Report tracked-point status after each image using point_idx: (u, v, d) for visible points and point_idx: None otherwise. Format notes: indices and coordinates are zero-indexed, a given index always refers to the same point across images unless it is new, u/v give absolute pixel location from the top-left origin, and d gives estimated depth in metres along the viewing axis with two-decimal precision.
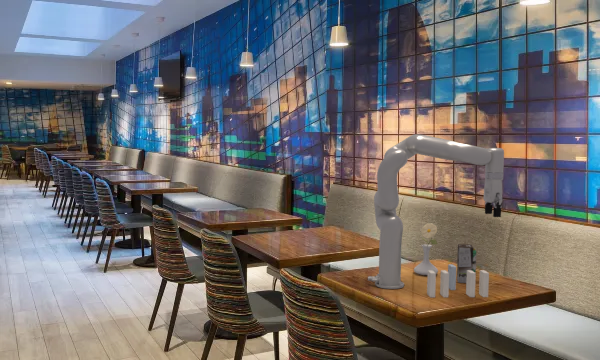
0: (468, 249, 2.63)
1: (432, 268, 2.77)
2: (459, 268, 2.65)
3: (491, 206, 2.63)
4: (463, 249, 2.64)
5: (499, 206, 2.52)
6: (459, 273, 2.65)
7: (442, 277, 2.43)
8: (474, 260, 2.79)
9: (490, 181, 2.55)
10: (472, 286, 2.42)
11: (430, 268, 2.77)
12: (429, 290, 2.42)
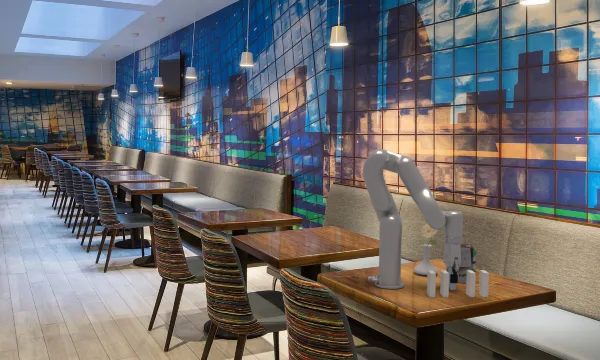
0: (468, 249, 2.63)
1: (432, 268, 2.77)
2: (459, 268, 2.65)
3: None
4: (463, 249, 2.64)
5: (456, 273, 2.50)
6: (459, 273, 2.65)
7: (442, 277, 2.43)
8: (474, 260, 2.79)
9: (449, 245, 2.51)
10: (472, 286, 2.42)
11: (430, 268, 2.77)
12: (429, 290, 2.42)
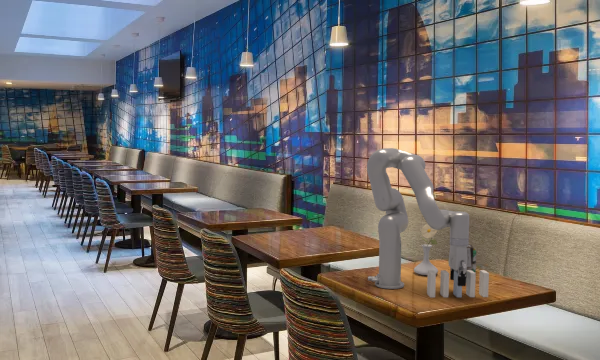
0: (468, 249, 2.63)
1: (432, 268, 2.77)
2: None
3: None
4: None
5: (463, 275, 2.37)
6: None
7: (442, 277, 2.43)
8: (474, 260, 2.79)
9: (454, 248, 2.40)
10: (472, 286, 2.42)
11: (430, 268, 2.77)
12: (429, 290, 2.42)
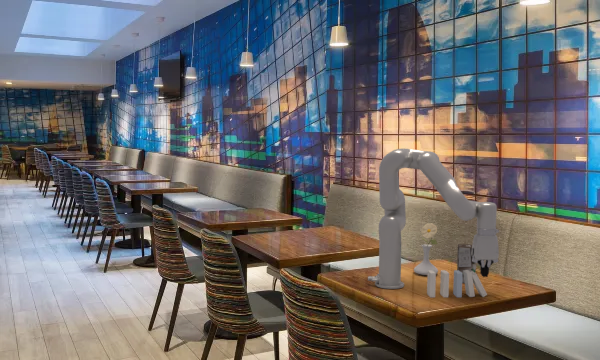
0: (468, 249, 2.63)
1: (432, 268, 2.77)
2: (459, 268, 2.65)
3: None
4: (463, 249, 2.64)
5: None
6: None
7: (442, 277, 2.43)
8: None
9: None
10: (470, 286, 2.42)
11: (430, 268, 2.77)
12: (429, 290, 2.42)
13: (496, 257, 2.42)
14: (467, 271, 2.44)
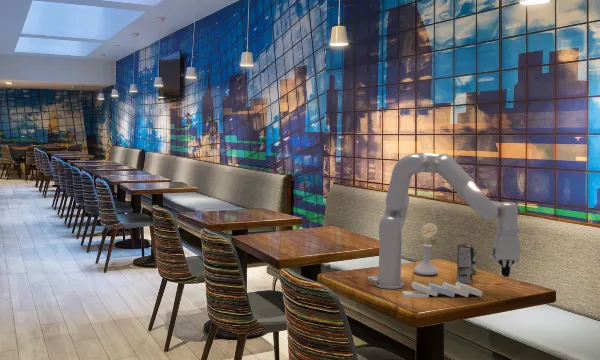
0: (468, 249, 2.63)
1: (432, 268, 2.77)
2: (459, 268, 2.65)
3: None
4: (463, 249, 2.64)
5: (501, 264, 2.44)
6: (459, 273, 2.65)
7: None
8: (474, 260, 2.79)
9: None
10: (458, 291, 2.41)
11: (430, 268, 2.77)
12: None
13: (517, 257, 2.42)
14: (444, 285, 2.43)
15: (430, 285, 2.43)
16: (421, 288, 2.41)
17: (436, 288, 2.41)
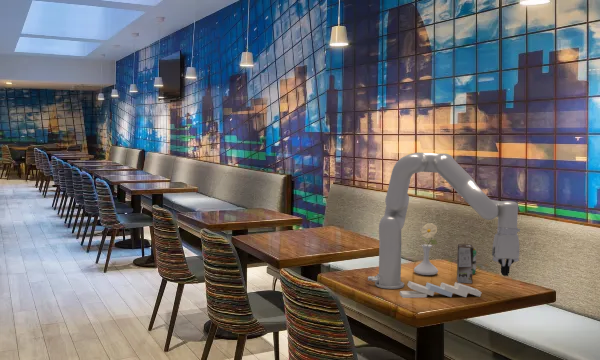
0: (468, 249, 2.63)
1: (432, 268, 2.77)
2: (459, 268, 2.65)
3: (506, 267, 2.44)
4: (463, 249, 2.64)
5: (500, 263, 2.44)
6: (459, 273, 2.65)
7: None
8: (474, 260, 2.79)
9: None
10: (457, 292, 2.41)
11: (430, 268, 2.77)
12: None
13: (517, 256, 2.42)
14: (442, 285, 2.43)
15: (428, 285, 2.42)
16: (418, 288, 2.40)
17: (434, 288, 2.40)
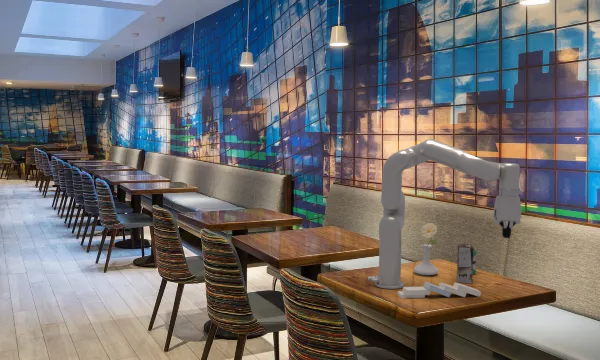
0: (468, 249, 2.63)
1: (432, 268, 2.77)
2: (459, 268, 2.65)
3: None
4: (463, 249, 2.64)
5: (501, 226, 2.43)
6: (459, 273, 2.65)
7: None
8: (474, 260, 2.79)
9: None
10: (456, 291, 2.41)
11: (430, 268, 2.77)
12: None
13: (518, 218, 2.41)
14: (441, 285, 2.43)
15: (427, 285, 2.41)
16: (414, 292, 2.39)
17: (434, 288, 2.39)
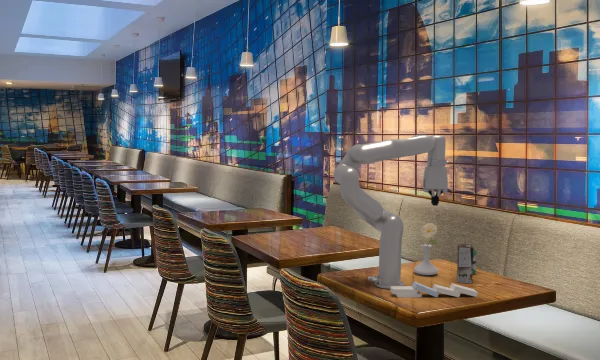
0: (468, 249, 2.63)
1: (432, 268, 2.77)
2: (459, 268, 2.65)
3: None
4: (463, 249, 2.64)
5: (430, 194, 2.59)
6: (459, 273, 2.65)
7: None
8: (474, 260, 2.79)
9: None
10: (449, 292, 2.41)
11: (430, 268, 2.77)
12: None
13: (445, 187, 2.58)
14: (434, 287, 2.43)
15: (414, 284, 2.42)
16: (400, 291, 2.41)
17: (420, 287, 2.40)
